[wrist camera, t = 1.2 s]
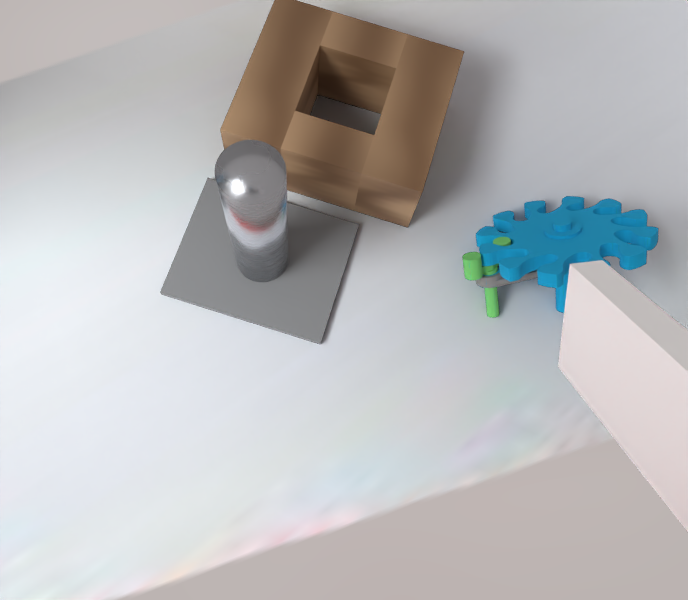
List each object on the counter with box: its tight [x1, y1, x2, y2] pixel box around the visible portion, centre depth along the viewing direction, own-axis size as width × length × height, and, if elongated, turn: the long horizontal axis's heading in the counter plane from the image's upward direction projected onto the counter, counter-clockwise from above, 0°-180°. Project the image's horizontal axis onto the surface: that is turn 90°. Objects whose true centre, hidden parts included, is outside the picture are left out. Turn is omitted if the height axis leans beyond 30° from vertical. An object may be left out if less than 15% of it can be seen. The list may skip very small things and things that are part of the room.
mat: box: [160, 178, 359, 344], centre depth 40 cm, size 10×8×1 cm
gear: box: [463, 196, 658, 317], centre depth 39 cm, size 11×6×10 cm
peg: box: [215, 140, 289, 282], centre depth 34 cm, size 3×3×11 cm
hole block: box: [220, 0, 464, 227], centre depth 41 cm, size 12×10×5 cm
